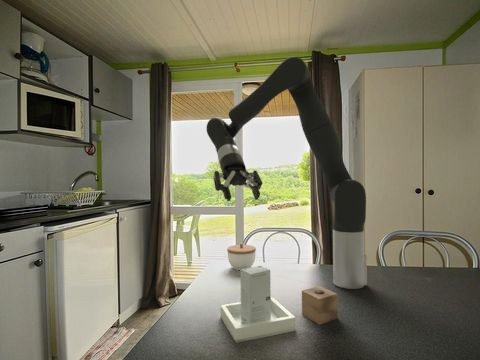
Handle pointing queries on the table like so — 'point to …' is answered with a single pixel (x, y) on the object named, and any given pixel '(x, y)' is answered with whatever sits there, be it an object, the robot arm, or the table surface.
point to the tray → (244, 332)
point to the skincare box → (255, 295)
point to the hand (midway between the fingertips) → (243, 198)
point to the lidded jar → (241, 256)
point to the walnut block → (319, 304)
